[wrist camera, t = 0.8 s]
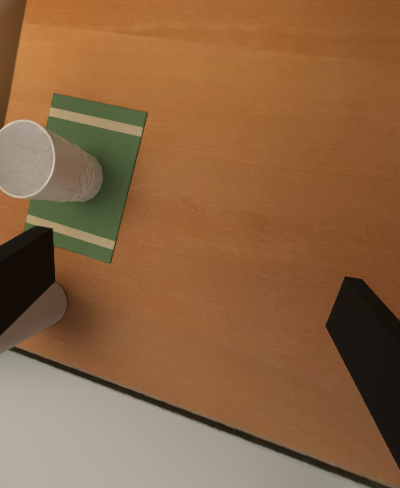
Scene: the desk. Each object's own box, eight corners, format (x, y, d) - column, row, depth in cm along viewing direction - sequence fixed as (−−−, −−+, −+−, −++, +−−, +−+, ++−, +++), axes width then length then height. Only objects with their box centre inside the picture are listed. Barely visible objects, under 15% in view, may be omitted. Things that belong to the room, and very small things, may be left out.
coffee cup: (9, 314, 43) (-123, 355, 28) (32, 255, 42) (-93, 268, 27) (61, 347, 41) (-51, 410, 27) (87, 287, 40) (-15, 318, 26)
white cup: (51, 154, 40) (-17, 129, 31) (103, 141, 39) (48, 110, 29) (59, 211, 41) (-6, 204, 31) (111, 201, 39) (60, 190, 29)
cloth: (55, 94, 41) (53, 92, 40) (148, 113, 38) (146, 112, 37) (25, 235, 42) (22, 235, 42) (111, 263, 40) (109, 263, 39)
